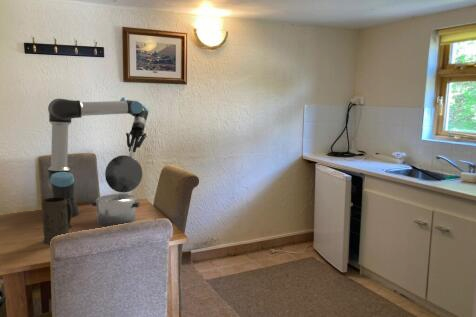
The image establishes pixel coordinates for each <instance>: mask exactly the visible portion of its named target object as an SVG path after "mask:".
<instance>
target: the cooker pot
mask: <svg viewBox="0 0 476 317" xmlns="http://www.w3.org/2000/svg"><path fill="white" fill-rule="evenodd" d="M140 203H141V202H140V201H136V197H135V196H134V195H132V194H129V193H122V192H118V193H116V194H115V193H114V194H106V195H102V196H99V197H97V198H96V199H95V200H93V201H92V203H91V204H92V207H96V222H97V224H98V225H99V226H100V225H101V226H104V227H105V226H106V227H112V226H111V225H118V224H124V223H129V224H131V223H130V222H132V223H134V222H135V221H136V218H137V215H136V213H137V212H136V208H140V206H141V204H140Z"/></svg>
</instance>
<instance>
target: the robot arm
mask: <svg viewBox="0 0 476 317" xmlns="http://www.w3.org/2000/svg"><path fill="white" fill-rule="evenodd" d="M47 111H48V117H49V118H48V119H49V120H48V122H49V123H50V124H51V149H50V150H51V151H50V152H51V153H50V154H51V156H50V158H51V159H50V160H51V161H50V167H48V169H47V176H46V184H47V186H48V188H49V189H50V190H51V198H53V197H63V198H65V199H70V201H71V205H72V209H73V212H72V217H76V216H77V215H79V214H80V210H79V207H78V204H77V202H76V197H75V196H76V195H75V178H74V175H73V173H71V169H70V167H69V166H68V155H69V153H68V152H69V151H68V150H69V149H68V147H69V146H68V145H69V126H70V124H72V119H82V117H83V116H84V117H85V116H102V115H103V116H104V115H105V116H106V115H123V114H124V115H125V114H126V115H131V116H132V117H134V119H133V122H132V125H131V130H130V131H129V132H126V133H125V136H126V145H127V147H128V151H129V154H128V156H130V157H133V158H134V153H136V152H137V149H138V148H141V146H142V144H143V142H144V140H145V139H146V138H147V137H148V135H147V133H144V131H145V127H146V124H147V123H146V122H147V119H148V116H149V112H150V110H149V107H148V106H147V105H146V104H143V103H142V102H141V101H139V100H130V99H128V98H126V97H121V99H120V100H116V101H115V100H114V101H80V100H72V99H66V98H56V99H53V100H52V101H50V102H49V105H48V107H47ZM66 210H67V215H68V207H67V205H66Z"/></svg>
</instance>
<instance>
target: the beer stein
mask: <svg viewBox="0 0 476 317" xmlns="http://www.w3.org/2000/svg"><path fill="white" fill-rule="evenodd" d="M41 205H42V226H43V227H42V228H43V229H42V230H43V237H44V238H43V242H44V243H45V244H46V245H47V244H48V245H51V244H50V241H51V239H52V238H53V237H55V236H57V235H61V234H66V233H68V234H70V233H69V232H70V229H72V228H73V225H72V224H71V221H72V212H73V209H72V205H71V201H70V199H65V198H63V197H53V198H52V197H48V198H44V199H42V203H41ZM66 205H67V207H68V215H67V210H66Z"/></svg>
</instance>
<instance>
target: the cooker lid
mask: <svg viewBox="0 0 476 317" xmlns="http://www.w3.org/2000/svg"><path fill="white" fill-rule="evenodd" d="M104 178H105V181H106V183H107V185H108V187H109V188H111V189H112V190H113V191H115V192H118V193H123V194H125V193H129V192H132V191H134V190H135V189H137V187H138V186H139V185H140V184H141V182H142V180H143V168H142V165H141V164H140V162H139V161H138V160H137V159H136V158H134V156H133V157H130V156H129V155H122V154H121V155H118V156H116V157H114V158H112V159H111V160H110V161H109V162H108V163H107V165H106V168H105V171H104Z"/></svg>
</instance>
